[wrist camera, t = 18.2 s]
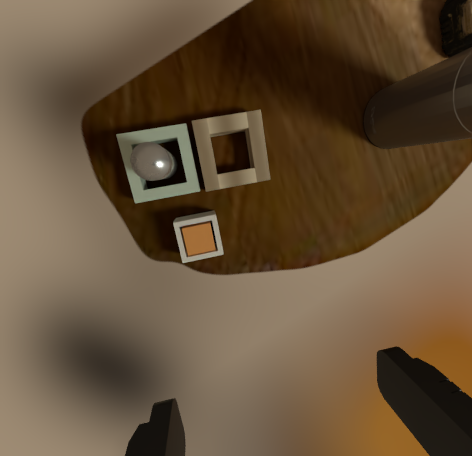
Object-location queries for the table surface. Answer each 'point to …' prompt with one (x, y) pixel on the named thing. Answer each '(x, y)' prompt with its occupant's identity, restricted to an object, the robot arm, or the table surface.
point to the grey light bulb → (153, 162)
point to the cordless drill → (456, 26)
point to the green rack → (158, 136)
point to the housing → (195, 219)
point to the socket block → (255, 145)
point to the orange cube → (198, 238)
